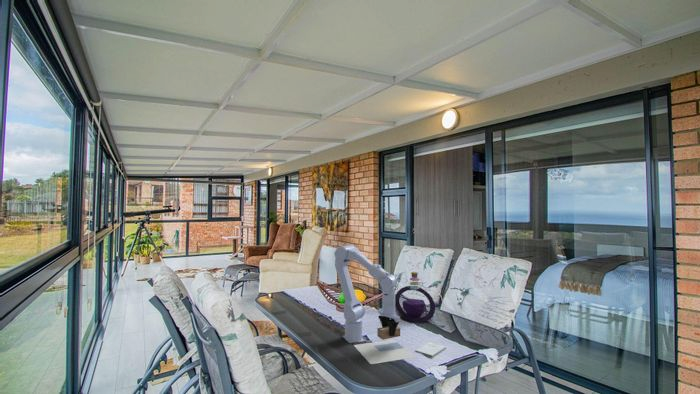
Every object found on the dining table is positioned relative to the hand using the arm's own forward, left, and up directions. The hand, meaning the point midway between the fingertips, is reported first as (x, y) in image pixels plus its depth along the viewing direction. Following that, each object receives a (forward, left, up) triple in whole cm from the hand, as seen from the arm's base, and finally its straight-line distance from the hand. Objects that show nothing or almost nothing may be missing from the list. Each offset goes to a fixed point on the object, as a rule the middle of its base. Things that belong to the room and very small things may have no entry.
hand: (388, 333), depth 159 cm
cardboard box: (0, 0, -1) cm, 1 cm away
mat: (+3, -4, -6) cm, 8 cm away
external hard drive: (+8, +16, -7) cm, 19 cm away
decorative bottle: (-34, +32, -7) cm, 47 cm away
